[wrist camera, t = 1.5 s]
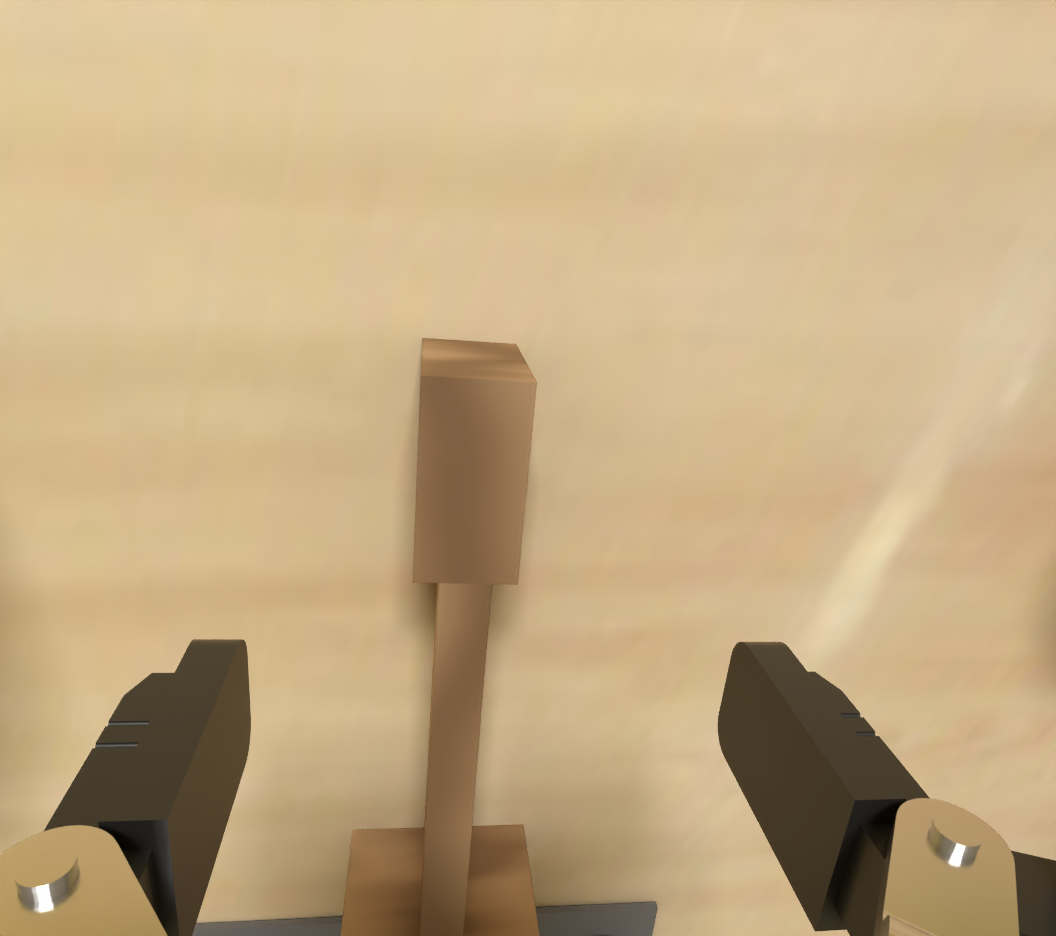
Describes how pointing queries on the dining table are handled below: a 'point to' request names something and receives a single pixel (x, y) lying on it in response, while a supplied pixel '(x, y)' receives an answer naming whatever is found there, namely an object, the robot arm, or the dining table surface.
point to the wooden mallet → (457, 655)
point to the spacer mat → (559, 926)
